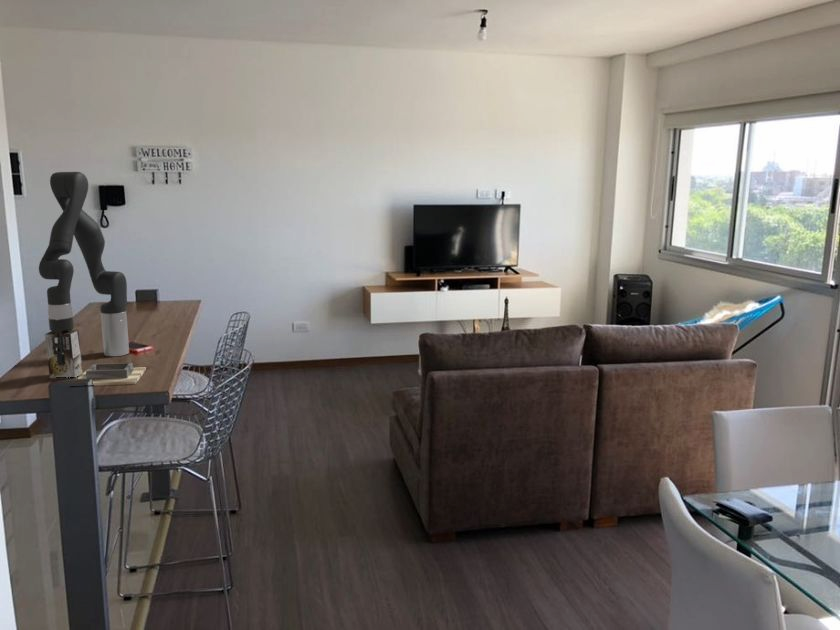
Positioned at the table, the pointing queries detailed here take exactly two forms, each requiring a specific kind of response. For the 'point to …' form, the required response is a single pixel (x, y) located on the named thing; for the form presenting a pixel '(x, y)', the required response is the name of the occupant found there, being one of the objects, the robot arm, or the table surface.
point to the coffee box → (70, 352)
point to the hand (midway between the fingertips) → (64, 362)
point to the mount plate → (113, 374)
